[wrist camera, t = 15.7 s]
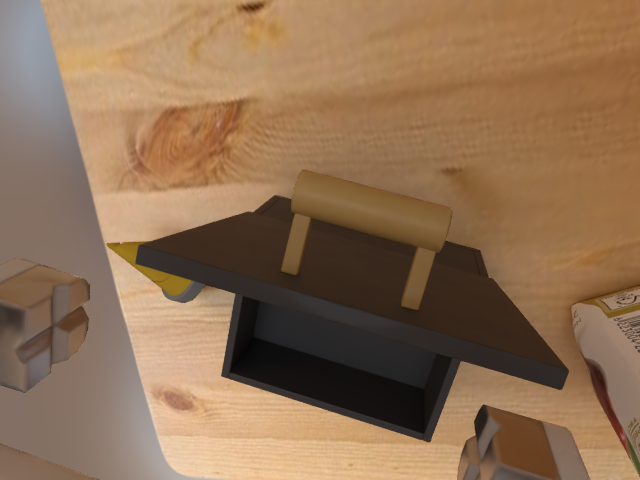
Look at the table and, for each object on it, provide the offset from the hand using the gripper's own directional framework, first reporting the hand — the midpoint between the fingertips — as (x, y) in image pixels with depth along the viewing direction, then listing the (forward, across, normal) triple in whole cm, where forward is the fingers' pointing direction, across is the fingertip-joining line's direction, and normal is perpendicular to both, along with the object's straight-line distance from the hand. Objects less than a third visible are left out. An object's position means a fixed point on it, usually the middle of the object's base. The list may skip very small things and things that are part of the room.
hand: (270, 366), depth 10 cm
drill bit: (+28, +14, +12) cm, 34 cm away
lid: (+15, -1, +4) cm, 15 cm away
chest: (+28, 0, +12) cm, 30 cm away
